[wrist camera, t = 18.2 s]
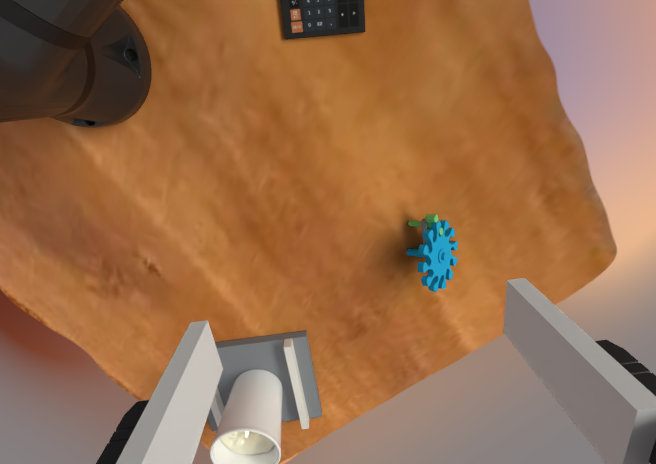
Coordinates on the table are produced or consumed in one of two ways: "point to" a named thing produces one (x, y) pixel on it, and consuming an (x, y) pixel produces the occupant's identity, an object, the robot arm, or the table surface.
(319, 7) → the calculator
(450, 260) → the gear
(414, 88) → the table surface
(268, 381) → the candle holder
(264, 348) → the grey tray with rails
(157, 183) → the table surface
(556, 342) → the robot arm
